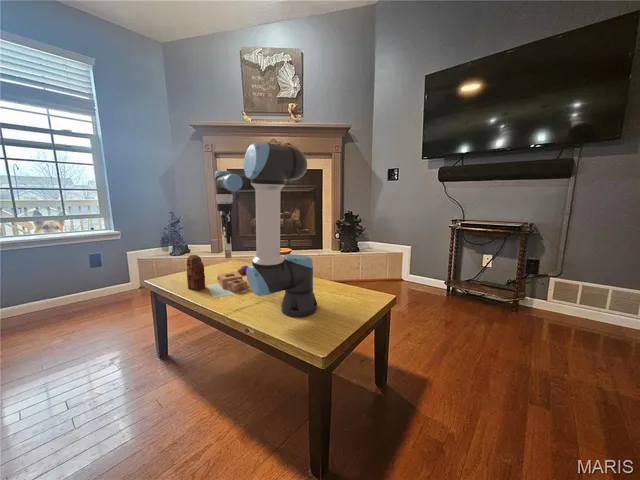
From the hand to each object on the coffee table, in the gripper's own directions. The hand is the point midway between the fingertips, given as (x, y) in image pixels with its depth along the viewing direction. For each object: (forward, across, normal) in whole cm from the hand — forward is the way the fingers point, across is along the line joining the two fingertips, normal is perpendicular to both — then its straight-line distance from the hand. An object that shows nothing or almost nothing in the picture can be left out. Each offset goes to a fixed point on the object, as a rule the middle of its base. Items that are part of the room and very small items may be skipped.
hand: (227, 249), depth 133 cm
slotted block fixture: (+20, -4, +3) cm, 21 cm away
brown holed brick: (+19, -10, -1) cm, 21 cm away
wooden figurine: (+20, +4, +16) cm, 26 cm away
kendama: (+21, +13, -6) cm, 25 cm away
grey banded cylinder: (+5, 0, 0) cm, 5 cm away
